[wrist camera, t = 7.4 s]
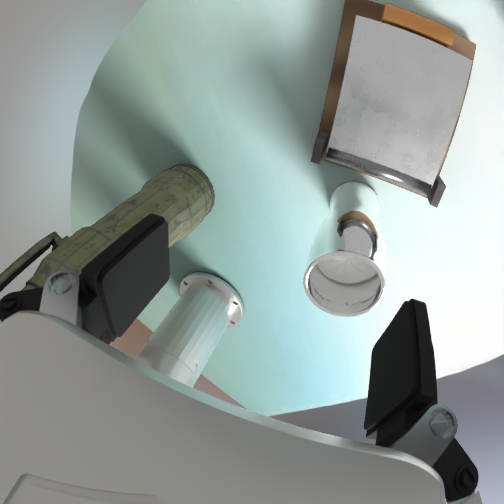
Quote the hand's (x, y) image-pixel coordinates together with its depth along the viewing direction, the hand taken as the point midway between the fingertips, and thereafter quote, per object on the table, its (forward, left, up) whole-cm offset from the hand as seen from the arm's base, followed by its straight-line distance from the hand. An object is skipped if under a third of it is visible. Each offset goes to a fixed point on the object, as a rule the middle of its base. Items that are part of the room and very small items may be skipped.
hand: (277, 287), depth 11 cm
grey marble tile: (+6, -5, -21) cm, 22 cm away
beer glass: (-7, -4, -25) cm, 26 cm away
